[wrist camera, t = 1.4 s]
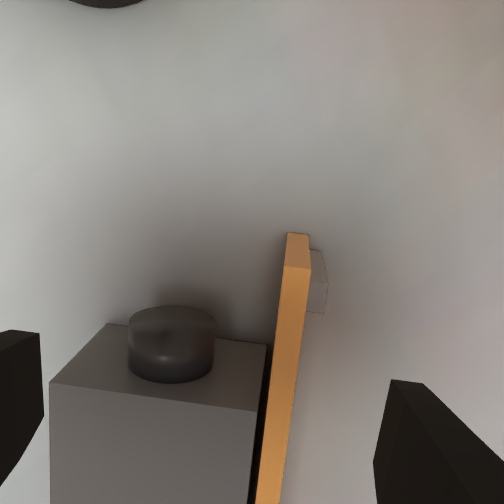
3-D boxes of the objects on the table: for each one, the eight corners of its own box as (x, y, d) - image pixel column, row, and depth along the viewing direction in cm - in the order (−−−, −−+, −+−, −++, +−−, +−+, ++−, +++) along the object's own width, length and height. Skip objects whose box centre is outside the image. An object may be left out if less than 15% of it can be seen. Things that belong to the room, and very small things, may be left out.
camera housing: (244, 535, 23) (227, 660, 17) (102, 512, 23) (43, 628, 18) (270, 309, 20) (260, 377, 14) (107, 288, 20) (38, 346, 15)
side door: (278, 551, 23) (273, 659, 18) (249, 546, 23) (236, 652, 18) (323, 236, 19) (331, 272, 14) (287, 232, 19) (284, 266, 14)
